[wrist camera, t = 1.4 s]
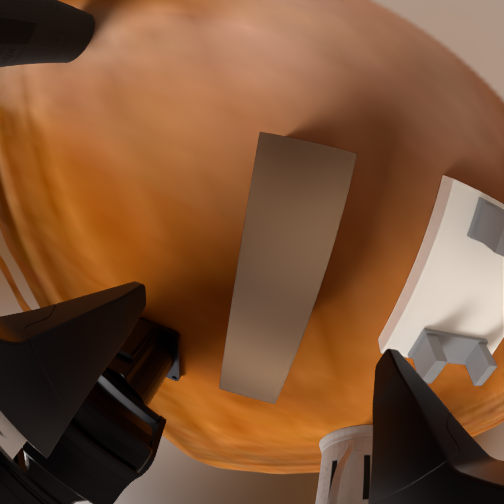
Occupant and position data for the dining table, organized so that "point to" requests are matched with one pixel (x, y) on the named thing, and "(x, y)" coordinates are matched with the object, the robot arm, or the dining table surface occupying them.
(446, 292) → the side panel
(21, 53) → the drinking cup
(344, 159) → the door
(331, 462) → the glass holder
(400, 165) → the dining table surface
